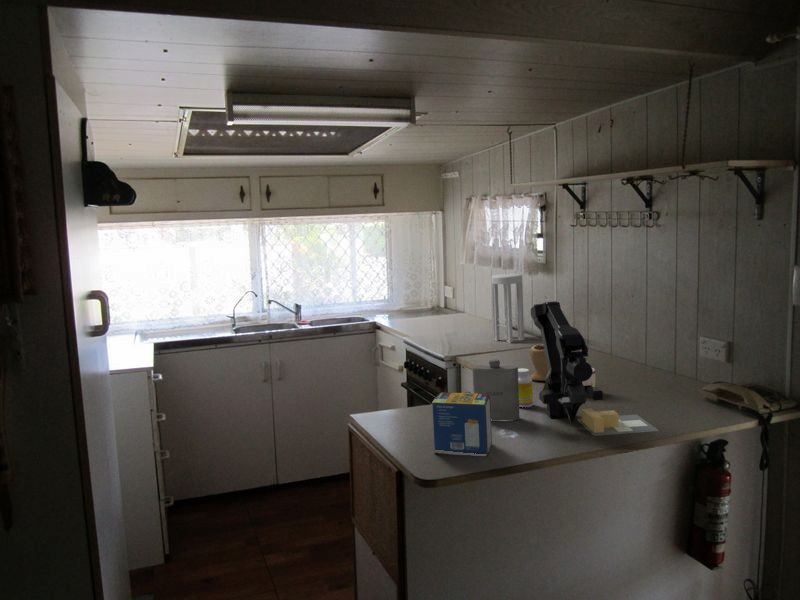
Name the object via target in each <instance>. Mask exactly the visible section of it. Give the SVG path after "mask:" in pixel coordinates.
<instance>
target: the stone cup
mask: <svg viewBox="0 0 800 600" xmlns="http://www.w3.org/2000/svg"><path fill="white" fill-rule="evenodd" d="M529 354H530V360H531V362H532V364H533V367H534V371H535V372H533V373H531V375H529V377H531V378H532V381H533V380H534V381H542V382H543V381H545V379H546V376H547V374H548V366H547V361H546V356H545V351H544V346H543V343H538V344H535V345H533V346H531V348H530V350H529Z"/></svg>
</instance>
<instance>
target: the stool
mask: <svg viewBox="0 0 800 600" xmlns="http://www.w3.org/2000/svg"><path fill="white" fill-rule="evenodd" d="M490 278H491V299H492V300H491V302H492V303H491V304H492V305H491V306H492V328H493V329H492V330H493V332H492V333H493V341H494V340H495V341H494V342H499V341H498V340H500V341H501V339H500V338H501V337H500V328H501V327H502V328H504V337H505V338H504V339H506V343H507V342H508V343H507V344H512V343H511V342H513V343H514V339H513V337H514V336H513V325H517V339H518V340H517V341H521V340H522V341H524V340H525V325H524V324H525V323H524V322H525V321H524V319H525V318H524V289H523V287H524V286H523V274H520V273H498V274H493V275H491V277H490ZM512 284H513V285H515V284H516V285H515V287H516V311H517V315H516V316H515V315H513V313H512V311H513V310H512V309H513V307H512ZM498 285H503V309H504V310H503V312H504V318H501V317H500V313H499V311H500V309H499V286H498ZM513 319H515V320H517V321H513ZM500 322H504V324H503V323H500Z"/></svg>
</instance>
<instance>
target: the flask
mask: <svg viewBox="0 0 800 600" xmlns="http://www.w3.org/2000/svg"><path fill="white" fill-rule="evenodd" d="M471 368H472V389H473V391H472V393H478V394H490V408H491V419H492V420H517V419H518V420H520V408H519V386H518V369H519V367H518V366H516V365H510V364H509V365H501V361H500V359H495V358H493V359H490V360H489V361H488V365H485V364H477V365H473V366H472V367H471ZM518 420H517V421H518Z"/></svg>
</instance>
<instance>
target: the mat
mask: <svg viewBox="0 0 800 600" xmlns="http://www.w3.org/2000/svg"><path fill="white" fill-rule="evenodd" d="M576 420H577V422H578V423H580V425H582V426H583V427H584V428H585V429H586V431H588V432H589V433H590V434H591V435H592V436H593V437H596V436H597V437H598V436H610V435H611V436H612V435H625V434H637V433H638V434H639V433H653V432H660V430H659V429H658V428H656V427H655V426H653V424H651V423H649V422H647V420H645V419H643V418H642V417H641V416H639V415H638V414H627V415H626V414H625V415H619V427H609V428H604V432H597V433H594V432H593V431H592V430H591V429H590V428H589V427H588V426H586V425H585V424H584V423H583V422H582V418H576Z"/></svg>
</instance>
